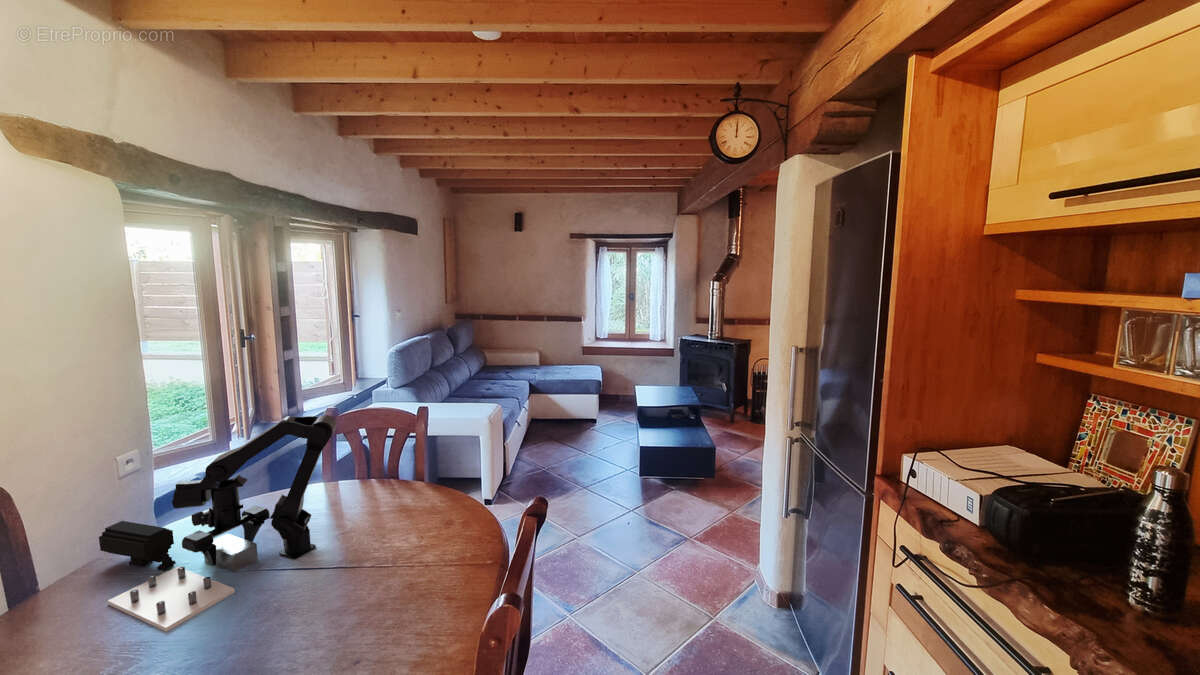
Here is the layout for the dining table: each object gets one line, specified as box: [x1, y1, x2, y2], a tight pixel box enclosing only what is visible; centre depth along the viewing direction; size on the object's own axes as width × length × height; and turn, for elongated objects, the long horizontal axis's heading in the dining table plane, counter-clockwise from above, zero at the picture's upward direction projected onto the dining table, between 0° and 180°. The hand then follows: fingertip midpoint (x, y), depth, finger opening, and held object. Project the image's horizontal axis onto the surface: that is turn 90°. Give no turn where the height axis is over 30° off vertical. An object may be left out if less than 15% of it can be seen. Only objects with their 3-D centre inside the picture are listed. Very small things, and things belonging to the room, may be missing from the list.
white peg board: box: [107, 566, 235, 633], centre depth 115 cm, size 22×14×4 cm, turn 69°
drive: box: [203, 533, 259, 573], centre depth 130 cm, size 12×6×5 cm, turn 69°
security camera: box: [98, 520, 177, 572], centre depth 127 cm, size 7×18×10 cm, turn 78°
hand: (231, 556), depth 130 cm, fingers open, 8 cm apart
